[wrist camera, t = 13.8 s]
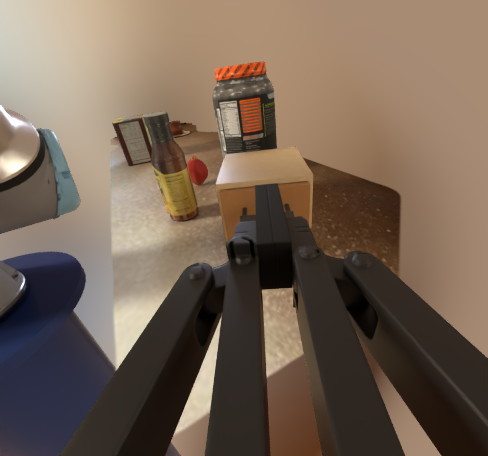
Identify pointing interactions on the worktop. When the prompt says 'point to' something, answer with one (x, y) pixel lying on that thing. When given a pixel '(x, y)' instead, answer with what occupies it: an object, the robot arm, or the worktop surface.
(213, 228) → the worktop surface
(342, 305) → the robot arm
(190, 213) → the sauce bottle
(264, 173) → the cabinet
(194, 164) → the onion
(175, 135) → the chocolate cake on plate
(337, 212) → the worktop surface
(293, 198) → the drawer
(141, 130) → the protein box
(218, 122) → the supplement tub
